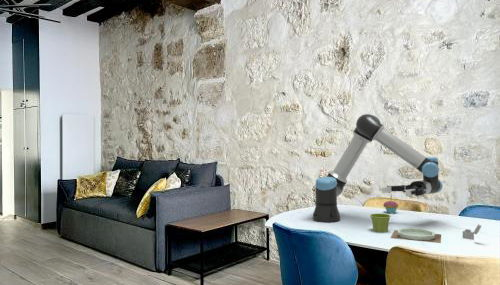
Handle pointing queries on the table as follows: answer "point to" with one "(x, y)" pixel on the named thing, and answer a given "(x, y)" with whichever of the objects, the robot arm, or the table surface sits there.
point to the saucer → (416, 234)
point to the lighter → (469, 234)
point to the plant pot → (380, 222)
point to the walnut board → (435, 240)
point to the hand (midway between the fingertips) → (393, 191)
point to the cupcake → (391, 206)
